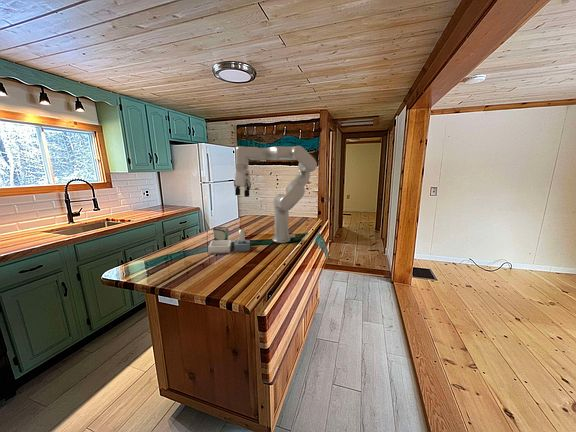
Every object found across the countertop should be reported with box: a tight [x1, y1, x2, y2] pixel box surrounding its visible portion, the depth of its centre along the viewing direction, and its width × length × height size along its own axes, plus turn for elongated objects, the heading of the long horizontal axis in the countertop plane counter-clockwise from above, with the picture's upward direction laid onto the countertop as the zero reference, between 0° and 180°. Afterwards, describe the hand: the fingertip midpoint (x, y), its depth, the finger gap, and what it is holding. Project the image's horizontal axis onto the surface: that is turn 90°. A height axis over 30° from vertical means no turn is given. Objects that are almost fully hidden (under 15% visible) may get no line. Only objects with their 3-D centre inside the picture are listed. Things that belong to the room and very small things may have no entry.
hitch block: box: [233, 239, 251, 253], centre depth 142 cm, size 9×9×4 cm
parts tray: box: [207, 239, 232, 255], centre depth 140 cm, size 12×12×4 cm
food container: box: [212, 226, 230, 241], centre depth 153 cm, size 12×6×10 cm, turn 58°
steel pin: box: [238, 228, 246, 244], centre depth 141 cm, size 3×3×12 cm
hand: (242, 195), depth 144 cm, fingers open, 9 cm apart
